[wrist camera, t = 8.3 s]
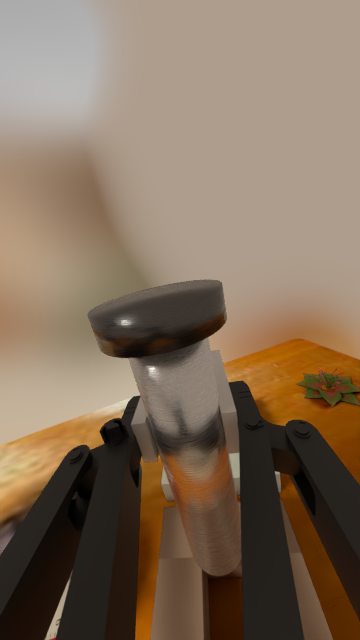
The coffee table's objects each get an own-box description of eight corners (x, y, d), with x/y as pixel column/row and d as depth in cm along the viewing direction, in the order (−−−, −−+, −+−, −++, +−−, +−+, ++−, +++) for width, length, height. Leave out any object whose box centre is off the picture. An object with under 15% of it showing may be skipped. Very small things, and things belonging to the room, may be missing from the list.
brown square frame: (150, 813, 13) (133, 799, 12) (171, 527, 26) (164, 507, 25) (393, 840, 11) (402, 827, 10) (283, 520, 24) (281, 498, 23)
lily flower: (295, 404, 41) (294, 385, 39) (295, 371, 50) (295, 355, 49) (375, 417, 35) (378, 395, 33) (358, 376, 44) (359, 358, 43)
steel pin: (171, 603, 12) (54, 330, 7) (178, 491, 18) (117, 294, 12) (274, 601, 11) (235, 296, 6) (246, 485, 17) (214, 275, 12)
